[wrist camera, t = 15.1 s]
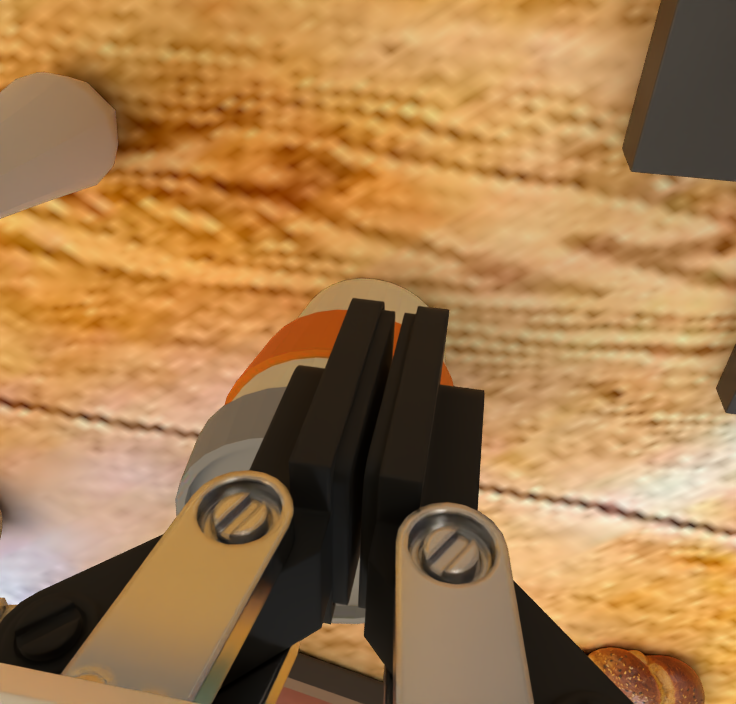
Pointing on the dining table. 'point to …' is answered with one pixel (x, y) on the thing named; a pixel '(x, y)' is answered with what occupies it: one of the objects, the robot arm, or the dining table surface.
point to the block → (728, 385)
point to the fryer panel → (687, 94)
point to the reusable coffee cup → (268, 383)
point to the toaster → (328, 685)
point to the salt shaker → (52, 140)
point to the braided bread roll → (650, 677)
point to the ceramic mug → (0, 523)
